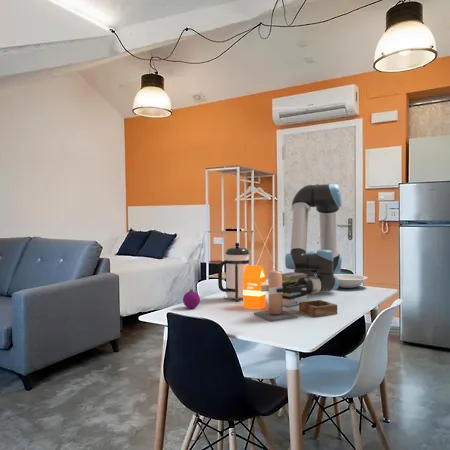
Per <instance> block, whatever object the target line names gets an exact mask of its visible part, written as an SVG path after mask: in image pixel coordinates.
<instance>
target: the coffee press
mask: <svg viewBox="0 0 450 450" xmlns="http://www.w3.org/2000/svg"><path fill="white" fill-rule="evenodd" d="M224 255H225V260H223V261H221V262H220V263H219V265H218V268H217V269H218V270H217V285H218V289H219V290H220V291H221V292H224V293H225V294H226V295H224V296H223V299H224V300H227V299H228V298H230V299H235V300H234V302H235V303H238V302H239V299H243V276H244V272H245V267H246V265H250V251H249V249H248V248H246V247H242V246H241V247H240V242H236V243H235V247H229V248H227V249H226V251H225V254H224ZM224 266H225V288H224V287H223V267H224ZM226 296H227V297H226Z"/></svg>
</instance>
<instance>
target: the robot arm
mask: <svg viewBox="0 0 450 450" xmlns="http://www.w3.org/2000/svg"><path fill="white" fill-rule="evenodd" d="M342 202H343V201H342V194H341V189H340V186H339V185H338V184H334V183H333V184H331V183H329V184H327V183H326V184H308V185H304V186H303V187H301V188H300V189H299V190H298V191H297V192H296V193H295V195H294V196H293V199H292V203H291V211H293V214H292V225H291V226H292V227H291V239H290V240H291V241H290V252H289V253H286V254H285V256H284V257H285V258H284V260H285V261H284V262H285V263H284V264H285V267H286V269H288V270H293V272H294V273H303V274H307V277H303V278H300V279H299V280H298V282H289V281H288V282H282V287H272V288H269V293H268V295H269V294H279V293H287V294H290V293H297V292H300V293H301V294H307V295H308V294H312V295H315V293H317V294H318V293H325V292H327V293H328V292H332V291H335V290H337V289H338V288H339V287H338V286H339V281H338V278H337V276H335V275H334V274H341V273H340V272H341V270H342V261H343V254H342V253H340V251H339V249H338V248H337V212H338V211H339V210H340V207H342V206H343V205H342ZM311 208H315V209H316V211H317V212H318V214H319V233H320V234H319V237H320V239H319V241H320V243H319V244H320V249H318V250H316V252H315V250H307V244H308V243H307V242H308V241H307V240H308V224H309V223H308V221H309V212H310V210H311ZM265 291H266V292H268V284H266V285H261V292H265Z"/></svg>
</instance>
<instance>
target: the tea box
mask: <svg viewBox="0 0 450 450" xmlns="http://www.w3.org/2000/svg"><path fill="white" fill-rule="evenodd" d="M303 277H307V274H303V273H294V271H293V272H292V271H290V272H285V273H282V282H288V281H289V282H298V280H299V279H300V278H303ZM300 302H308V294H301V293H300V292H297V293H290V294H287V293H282V307H283V306H284V307H293V306H296V305H299V303H300Z"/></svg>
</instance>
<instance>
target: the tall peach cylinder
mask: <svg viewBox="0 0 450 450" xmlns="http://www.w3.org/2000/svg"><path fill="white" fill-rule="evenodd" d="M267 273H268V276H267V277H268V279H267V280H268V282H267V285H268V291H267V292H268V311H269V313H270V314H282V310H283V305H282V293H279V294H269V288H272V287H282V274H283V272H282V271H281V270H269V271H268V272H267Z"/></svg>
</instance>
